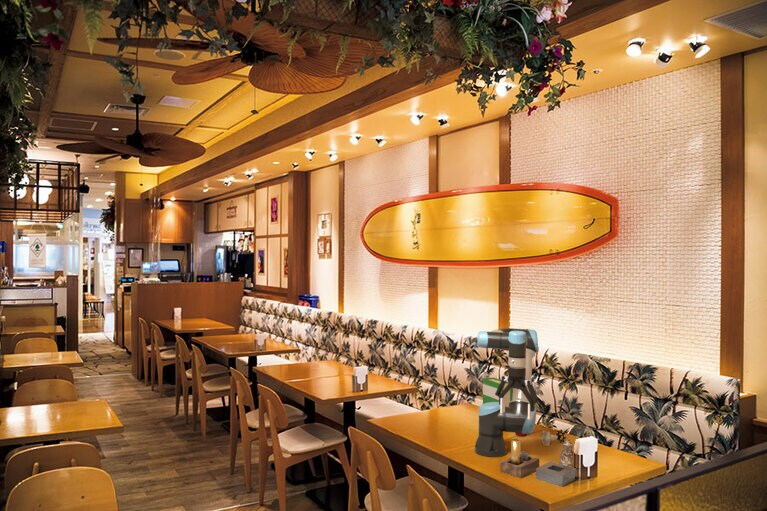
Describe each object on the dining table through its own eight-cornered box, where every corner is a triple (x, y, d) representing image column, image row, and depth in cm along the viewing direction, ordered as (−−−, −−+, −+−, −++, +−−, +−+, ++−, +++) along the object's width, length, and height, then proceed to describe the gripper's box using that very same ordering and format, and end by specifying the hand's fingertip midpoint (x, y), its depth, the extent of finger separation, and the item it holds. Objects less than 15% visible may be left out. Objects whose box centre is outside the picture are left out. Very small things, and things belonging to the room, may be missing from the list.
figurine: (557, 468, 265) (557, 441, 265) (561, 463, 271) (562, 437, 271) (573, 471, 262) (574, 444, 262) (577, 466, 268) (578, 440, 268)
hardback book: (511, 426, 329) (512, 383, 330) (500, 428, 326) (501, 384, 326) (492, 418, 345) (493, 377, 345) (482, 420, 342) (483, 378, 342)
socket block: (536, 478, 252) (536, 468, 252) (549, 471, 260) (549, 461, 260) (562, 486, 243) (562, 475, 244) (575, 479, 252) (575, 468, 252)
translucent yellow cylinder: (508, 472, 258) (509, 440, 258) (513, 470, 261) (514, 438, 261) (517, 475, 256) (517, 442, 256) (521, 472, 259) (522, 440, 259)
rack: (500, 472, 259) (500, 456, 259) (519, 463, 271) (519, 447, 271) (520, 478, 252) (521, 461, 252) (539, 468, 264) (539, 453, 264)
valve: (546, 447, 295) (565, 444, 300) (547, 434, 295) (566, 431, 300) (538, 443, 301) (557, 440, 306) (538, 430, 301) (557, 427, 306)
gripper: (487, 364, 265) (487, 411, 265) (538, 372, 247) (537, 423, 248) (497, 361, 270) (496, 408, 270) (547, 369, 253) (546, 419, 253)
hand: (516, 415), depth 259 cm, fingers open, 13 cm apart
